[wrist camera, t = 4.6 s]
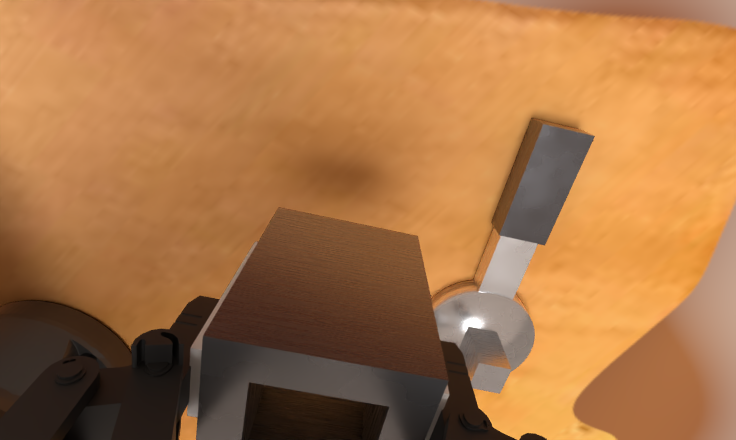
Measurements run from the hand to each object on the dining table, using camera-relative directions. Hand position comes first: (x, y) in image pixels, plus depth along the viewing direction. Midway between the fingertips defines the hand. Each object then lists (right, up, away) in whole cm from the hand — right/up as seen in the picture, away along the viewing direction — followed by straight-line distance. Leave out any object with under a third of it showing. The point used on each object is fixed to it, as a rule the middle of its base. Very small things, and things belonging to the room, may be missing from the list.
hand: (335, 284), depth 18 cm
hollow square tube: (0, 0, 0) cm, 0 cm away
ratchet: (+12, 0, +14) cm, 18 cm away
